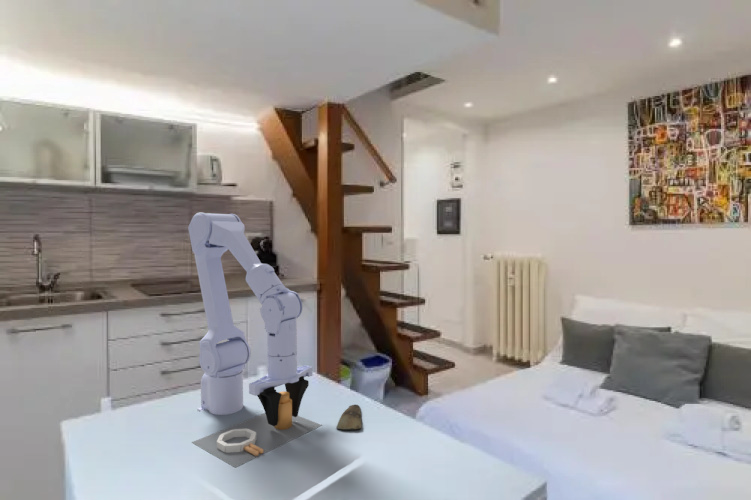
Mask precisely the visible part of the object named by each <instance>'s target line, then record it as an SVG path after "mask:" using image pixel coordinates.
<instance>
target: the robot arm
mask: <svg viewBox="0 0 751 500" xmlns="http://www.w3.org/2000/svg"><path fill="white" fill-rule="evenodd" d="M187 228H188V229H187V230H188V235H189V240H190V244H191V251H192V253H193V254H194V261H195V265H196V266H195V267H196V270H197V271H196V272H197V276H198V281H199V287H200V293H201V298H202V302H203V303H202V304H203V307H204V314H205V319H206V324H207V330H208V331H207V332H206V334H205V335H204V336H203V337H202V338H201V340H199V342H198V345H199V346H198V347H199V357H198V363H199V366H200V368H201V370H202V372H203V375H202V376H201V380H200V407H197V408H196V409H197V412H203V411H205V410H207V411H208V412H209V413H211V414H212V415H214V416H215V415H216V416H226V415H231V414H235V413H238V412H240V411H242V410H243V408H244V370H245V369H246V364H248V363H249V361H250V359H251V348H250V344H249V343H248V341H247V339H246V335H245V332H244V331H243V330H242V329H240V328H239V327H237V326H236V325H235V324H234V319H233V314H232V310H231V305H230V299H229V295H228V289H227V284H226V278H225V273H224V268H223V262H222V256H223V255H224V253H226V252H227V251H228V250H229V253H231V255H232V256H233V257H234V258H235V259H236V261H237V262H238V264H239V265H241V267H242V268H243V269H244V271H245V272H246V275H245V282H246V284H247V285H248V286H249V288H250V289H251V291H252V292H253V294H254V295H255V297H256V299H257V300H258V302H259V303H260V304H261V307H260V308H259V310H260V311H259V312H260V315H261V318H262V320H263V323H264V329H265V331H266V333H267V336H266V337H267V374H266V375H264V376H262V377H260V378H258V379H257V380H254V381H252V382H250V383H248V389H249V390H248V394H249V395H252V396H256V397H257V398H258V400H259V402H260V403H261V405H262V408H263V410H264V413H266V417H267V421H268V424H270V425H272V426H276V425H277V423H278V407H279V401H280V398H281V395H282V394H281V393H278V391H277V389H275V388H277V387H281V386H283V385H284V386H285V392H289V398H290V399H292V416H294V417H297V416H299V411H300V407H301V403H302V400H303V397H304V395H305V393H306V390H307V389H308V387H309V380H308V379H305V378H306V377H308V378H309V377H312V376H313V366H310V365H308V364H305V365H302V366H298V357H297V354H298V351H297V349H298V347H297V344H298V343H297V339H298V338H297V337H298V336H297V333H298V332H297V331H298V330H297V319H298V318H299V317H300V316H301V314H302V312H303V301H302V299H301V297H300V295H299V293H298V292H296V291H293V290H290V289H289V287H286V286H285V285H284V284H283V282H282V281H281V279H280V278H279V276H278V275H277V274H276V272H275V269H274V267H273V266H271V265H270V264H268V263H262V262H261V260H260V259H259V257H258V254H257V253H256V251H255V250H254V248H253V247H252V245H251V243H250V241H249V240H248V238H247V236H246V234H245V229H246V227H245V224H244V223H243V222H242V220H241V218H240V217H239V215H237V214H235V213H229V214H228V213H209V212H207V213H205V212H200V211H199V212H196V213H195V214H194V215H193V216H192V217H191V221H190V223H189V225H188V226H187ZM224 340H227V341H224ZM221 341H224V342H221ZM219 342H220V343H219Z"/></svg>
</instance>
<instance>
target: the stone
mask: <svg viewBox="0 0 751 500" xmlns="http://www.w3.org/2000/svg"><path fill="white" fill-rule="evenodd" d="M336 429H338V430H344V431H352V430H353V431H354V430H359V429H362V414H361V407H360V405H358V404H352V405H349V406H348V407H347V409H345V410H344V411H343V413H342V414H341V416H340V418H339V420H338V422H337V425H336Z"/></svg>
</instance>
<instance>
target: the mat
mask: <svg viewBox="0 0 751 500" xmlns="http://www.w3.org/2000/svg"><path fill="white" fill-rule="evenodd" d="M321 426H323V425H322V424H320V423H317V422H315V421H312V420H310V419H307V418H305V417H303V416H301V415H298V416H297V417H294V416H292V427H290V428H288V429H284V430H278V429H275V428H274V426H272V425H270V424H268V421H267V417H266V413H265V412H264V413H261V414H259V415H256V416H254V417H251V418H248V419H247V420H244V421H241V422H239V423H236V424H234V425H231V426H229V427H227V428H224V429H221V430H219V431H216V432H214V433H211V434H209V435H205V436H204V437H203V436H202V438H199V439H196V440H193V441H191V444H193V445H195V446H197V447H199V448H200V449H202V450H204V451H206V452H208V453H209V454H210V455H212V456H214V457H216V458H218V459H219V460H221V461H223V462H224V463H226V464H228V465H230V466H231V467H233V468H238V467H240V466H241V465H244V464H247V463H248V462H250V461H253V460H255V459H256V458H258V457H260V456H263V455H264V454H266V453H268V452H271V451H273V450H275V449H277V448H279V447H281V446H283V445H285V444H287V443H289V442H291V441H293V440H295V439H298V438H300V437H302V436H304V435H306V434H307V433H309V432H311V431H313V430H316V429H318V428H320V427H321Z"/></svg>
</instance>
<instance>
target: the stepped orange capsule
mask: <svg viewBox="0 0 751 500" xmlns="http://www.w3.org/2000/svg"><path fill="white" fill-rule="evenodd" d="M277 392H278V391H277ZM278 393H281V394H282V395H281V398H280V401H279V407H278V423H277V425H276V426H274V428H275V429H278V430H284V429H288V428H290V427H292V399H290V398H289V392H286V391H279V392H278Z"/></svg>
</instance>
